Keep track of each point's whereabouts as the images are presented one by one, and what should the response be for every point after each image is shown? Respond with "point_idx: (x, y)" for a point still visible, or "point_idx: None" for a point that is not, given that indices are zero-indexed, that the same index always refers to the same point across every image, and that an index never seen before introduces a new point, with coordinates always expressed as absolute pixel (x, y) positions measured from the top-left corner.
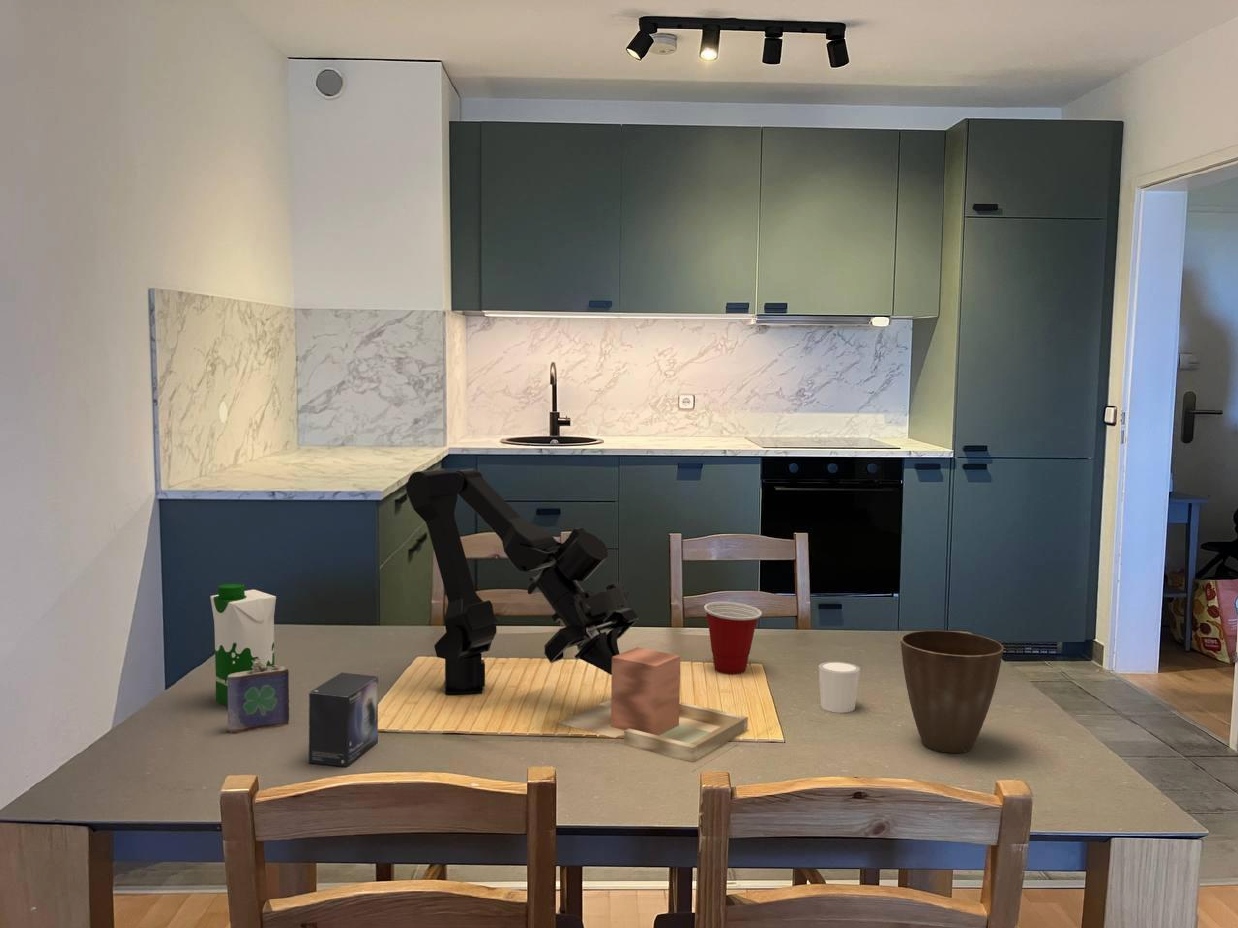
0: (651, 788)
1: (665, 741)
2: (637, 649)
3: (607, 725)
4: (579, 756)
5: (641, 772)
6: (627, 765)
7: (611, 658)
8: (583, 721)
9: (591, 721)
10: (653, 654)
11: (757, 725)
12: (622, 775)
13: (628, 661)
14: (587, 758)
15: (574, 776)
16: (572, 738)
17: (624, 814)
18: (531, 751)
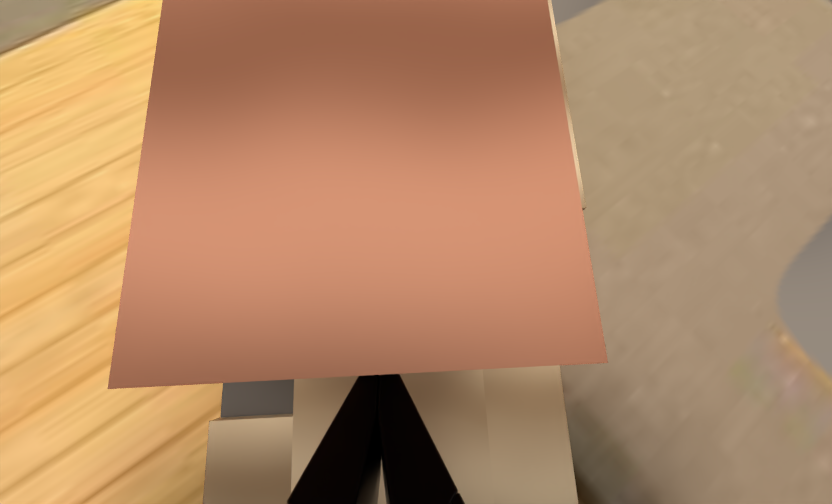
0: (672, 56)
1: (560, 60)
2: (193, 330)
3: (472, 379)
4: (669, 324)
5: (619, 123)
6: (611, 176)
7: (440, 487)
8: (501, 490)
9: (480, 461)
10: (265, 112)
11: (101, 68)
12: (670, 147)
13: (572, 171)
14: (661, 294)
15: (776, 237)
16: (575, 455)
17: (814, 28)
18: (764, 484)
